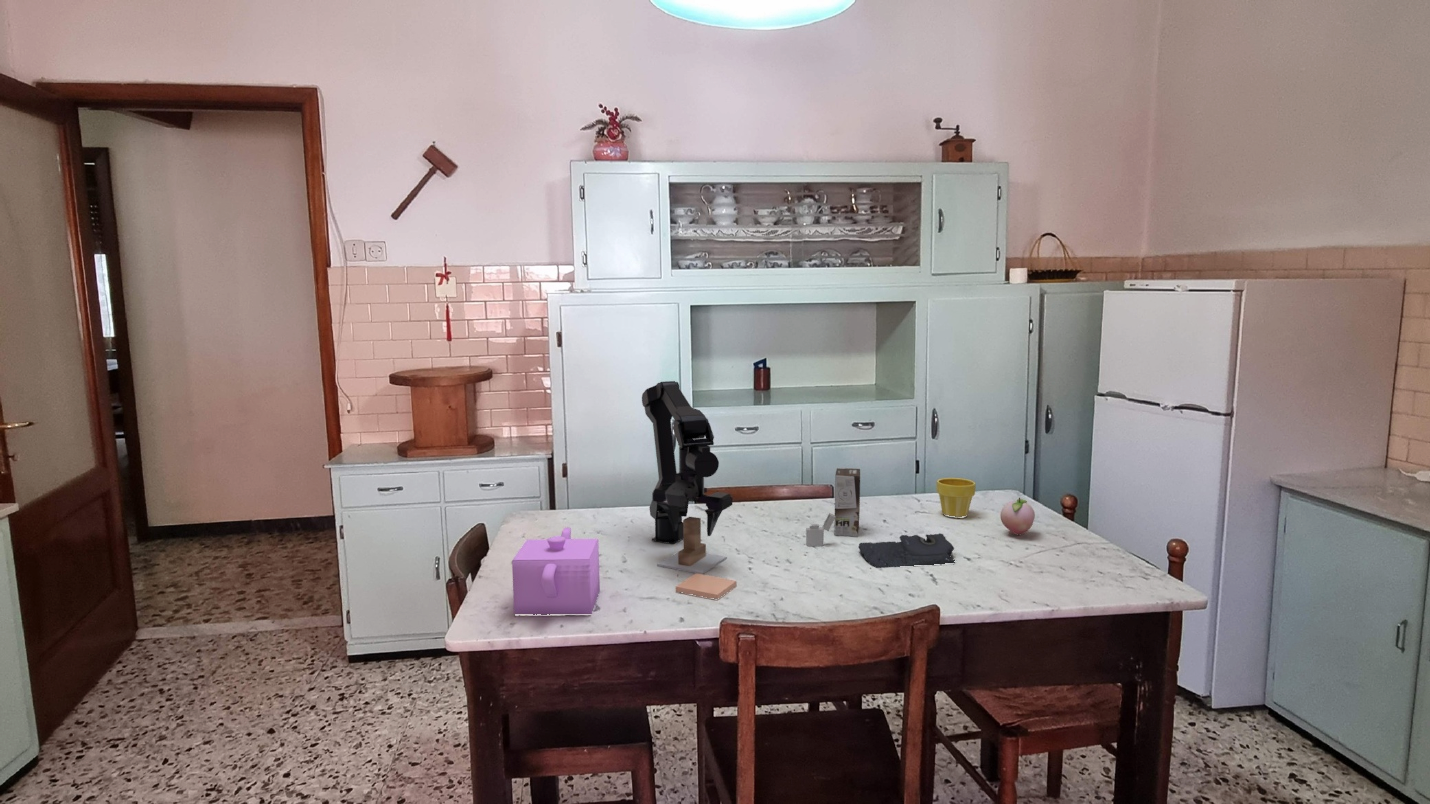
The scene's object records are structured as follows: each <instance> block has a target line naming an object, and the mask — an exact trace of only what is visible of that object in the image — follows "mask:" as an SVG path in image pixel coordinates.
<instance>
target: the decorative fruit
mask: <svg viewBox="0 0 1430 804" xmlns="http://www.w3.org/2000/svg"><path fill="white" fill-rule="evenodd" d="M1035 516H1036V514H1035V510H1034V508H1033V507H1032V504H1031V505H1030V504H1029V503H1028V501H1027V500H1026V499H1023V498H1021V497H1019V498H1018V499H1016V500H1013V501H1009V502H1007V503H1005V505H1003V507H1002V508H1001V510H1000V521H1001V523H1002V525H1003V526H1004V527H1005V528H1006V529H1007V530H1008V531H1009V532H1011V533H1013V534H1014V535H1017V534H1018V535H1017V536H1020V534H1021V535H1023V534H1025V533H1027V532H1028V531H1029V530H1030V529H1031V528H1032V526H1033V524H1034V521H1035V518H1036V517H1035Z"/></svg>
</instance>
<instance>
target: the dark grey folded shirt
mask: <svg viewBox="0 0 1430 804" xmlns="http://www.w3.org/2000/svg"><path fill="white" fill-rule="evenodd" d="M925 537H926V538H924V537H922V536H920V535H918V534H914V535H907V534H904V535H903V534H901V535H899V539H900V541H897V542H896V541H879V542H870V541H869V542H860V543H859V544H858V548H857V549H859V551H860V553H861V554H862V556H864V559H865V560H866V561H867V562H868V563H869V565H871V566H872V567H874V568H877V569H880V568H881V569H886V568H901V567H900V566H913V567H915V566H914V565H932V566H935V565H934V564H945V563H955V564H956V562H954V561H955V560H956V559H954V558H953V557H952V554H953V551H954V549H955V547H954V546H953V544H952V543H951V542H950V541H949V540H948V539H947V537H946V536H945V535H944V533H940V532H939V533H935V534H930V533H929V534H925ZM950 556H951V557H950ZM953 559H954V560H953Z"/></svg>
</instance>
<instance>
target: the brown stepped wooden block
mask: <svg viewBox="0 0 1430 804" xmlns="http://www.w3.org/2000/svg"><path fill="white" fill-rule="evenodd" d="M701 519H702V518H701V517H696V516H688V517H685V518H684V519H682V522H683V539H682V540H683V548H682V549H680V550H679V551H678V564H679V565H685V566H691V565H693V564H694V563H696V562H697V561H699V560H700V559H702V558H704V557H705V556H706V553H707V544H706V543H702V537H701V536H702V531H701V530H702V529H701V527H702V526H701V524H702V523H701V521H702V520H701Z"/></svg>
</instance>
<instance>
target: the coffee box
mask: <svg viewBox="0 0 1430 804" xmlns="http://www.w3.org/2000/svg"><path fill="white" fill-rule="evenodd" d="M834 477H835V481H834V482H835V483H834V515H835V516H836V517H835V519H834V521H833V523H834V527H833V528H834V530H833V532H834V533H833V534H834V536H845V537H854V538H855V537H856V536H857V537H858V536H859V529H860V511H861V510H860V507H861V469H860V468H847V467H846V468H836V469H835V476H834Z"/></svg>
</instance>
